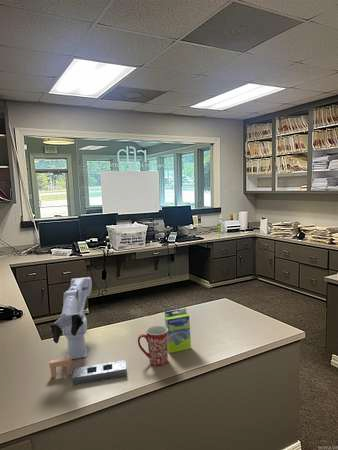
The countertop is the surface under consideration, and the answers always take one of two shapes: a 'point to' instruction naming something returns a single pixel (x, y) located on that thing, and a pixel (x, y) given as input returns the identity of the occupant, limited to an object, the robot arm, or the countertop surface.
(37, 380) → the countertop surface
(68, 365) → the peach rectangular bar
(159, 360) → the mug
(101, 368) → the gray slotted board
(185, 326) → the box
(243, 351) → the countertop surface
